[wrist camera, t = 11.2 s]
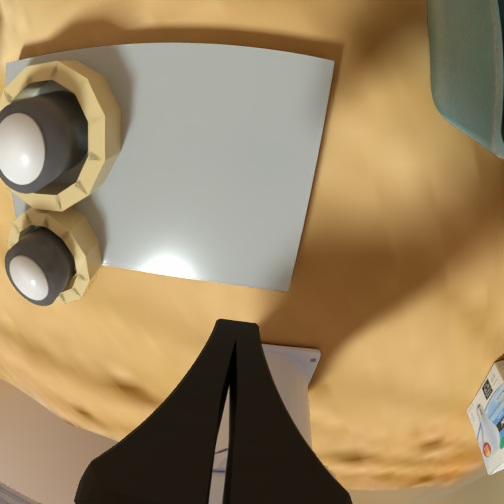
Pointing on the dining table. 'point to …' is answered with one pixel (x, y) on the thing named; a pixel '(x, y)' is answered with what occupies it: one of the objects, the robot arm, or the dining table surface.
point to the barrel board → (172, 166)
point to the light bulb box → (490, 418)
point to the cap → (41, 140)
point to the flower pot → (469, 67)
